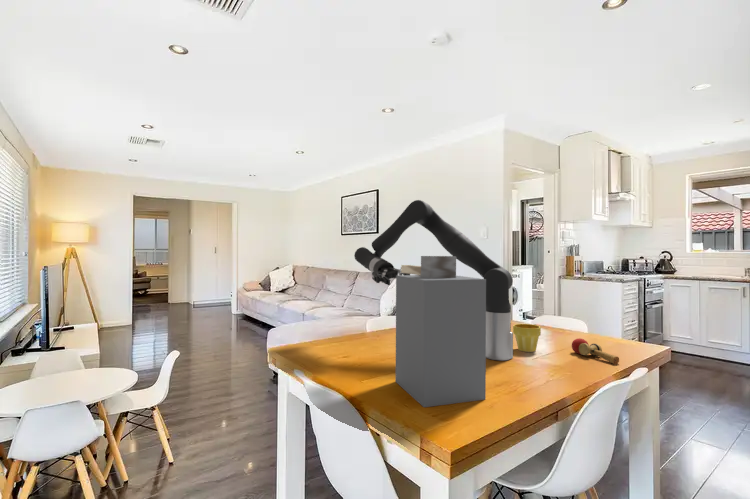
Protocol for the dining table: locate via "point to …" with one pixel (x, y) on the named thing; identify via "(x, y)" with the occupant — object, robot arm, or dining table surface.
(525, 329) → the plant pot
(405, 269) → the tan and grey block
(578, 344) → the kendama
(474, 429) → the dining table surface
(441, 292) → the tall grey box
